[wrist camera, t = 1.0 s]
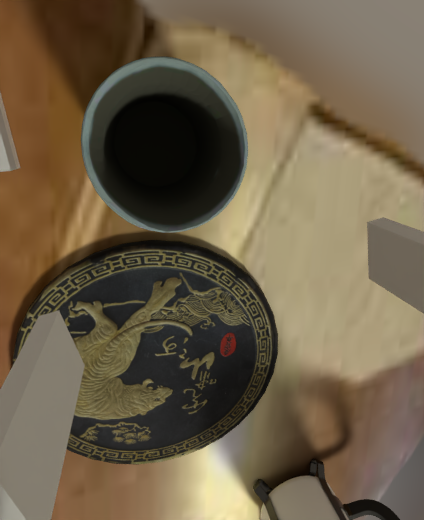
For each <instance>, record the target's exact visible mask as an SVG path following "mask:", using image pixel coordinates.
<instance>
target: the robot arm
mask: <svg viewBox="0 0 424 520" xmlns="http://www.w3.org/2000/svg"><path fill="white" fill-rule="evenodd" d="M367 228H368V266H369V279H371V280H372V281H374V282H375V283H377V284H379V285H380V286H382V287H383V288H385V289H386V290H388V291H389V292H391V293H393V294H394V295H396V296H397V297H399V298H400V299H402V300H403V301H405V302H407V303H408V304H410V305H411V306H413V307H414V308H416V309H417V310H419V311H421V312H422V313H424V232H423V231H420V230H417V229H414V228H411V227H409V226H406V225H403V224H400V223H397V222H395V221H392V220H389V219H386V218H380V219H376V220H373V221H369V222H367ZM84 366H85V365H84V363H83V361H82V359H81V356H80V354H79V352H78V350H77V348H76V346H75V344H74V341H73V339H72V337H71V335H70V333H69V331H68V329H67V326H66V324H65V322H64V320H63V318H62V316H61V314H60V311H55V312H52V313H48V314H45V315H41V316H39V317H38V319H37V321H36V323H35V324H34V326H33V328H32V330H31V332H30V334H29V336H28V338H27V340H26V342H25V344H24V346H23V347H22V349H21V351H20V353H19V355H18V357H17V359H16V361H15V363H14V365H13V367H12V368H11V370H10V372H9V374H8V376H7V378H6V380H5V382H4V384H3V386H2V388H1V389H0V520H51V516H52V512H53V507H54V503H55V498H56V494H57V489H58V485H59V480H60V476H61V471H62V466H63V462H64V457H65V453H66V448H67V444H68V439H69V435H70V430H71V425H72V421H73V416H74V412H75V407H76V403H77V398H78V394H79V389H80V385H81V380H82V375H83V371H84Z"/></svg>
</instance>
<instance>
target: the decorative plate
mask: <svg viewBox="0 0 424 520" xmlns="http://www.w3.org/2000/svg"><path fill="white" fill-rule="evenodd" d="M55 311H60V314H61V316H62V318H63V320H64V322H65V324H66V326H67V329H68V331H69V333H70V335H71V337H72V339H73V341H74V344H75V346H76V348H77V350H78V352H79V354H80V356H81V359H82V361H83V363H84V365H85V366H84V371H83V375H82V380H81V385H80V389H79V394H78V398H77V403H76V407H75V412H74V416H73V421H72V425H71V430H70V435H69V439H68V444H67V448H66V449H68V450H69V451H72V452H74V453H77V454H80V455H82V456H85V457H88V458H90V459H94V460H99V461H104V462H109V463H116V464H145V463H154V462H161V461H166V460H170V459H174V458H178V457H182V456H184V455H187V454H189V453H192V452H194V451H197V450H200V449H202V448H204V447H206V446H208V445H209V444H211V443H213V442H215V441H216V440H218V439H220V438H222V437H223V436H224V435H226V434H227V433H228V432H230V431H231V430H232V429H234V428H235V427H236V426H237V425H239V424H240V423H241V422H242V421H243V419H244V418H245V417H246V416H247V415H248V414H249V413H250V412H251V411H252V410H253V409H254V407H255V406H256V404H257V403H258V402H259V400H260V399H261V397H262V396H263V394H264V393H265V391H266V388H267V386H268V384H269V382H270V379H271V377H272V375H273V372H274V368H275V363H276V359H277V354H278V333H277V328H276V324H275V319H274V314H273V312H272V310H271V308H270V306H269V304H268V302H267V300H266V298H265V296H264V293H263V292H262V291H261V290H260V288H259V287H258V286H257V285H256V284H255V282H254V281H253V280H252V279H251V277H250V276H249V275H248V274H247V273H246V272H244V271H243V270H242V269H241V268H239V267H238V266H237V265H235V264H234V263H233V262H232V261H230V260H229V259H227V258H225V257H223V256H221V255H219V254H217V253H215V252H213V251H211V250H209V249H206V248H202V247H198V246H195V245H191V244H187V243H183V242H175V241H158V240H149V241H142V242H134V243H126V244H121V245H118V246H115V247H112V248H108V249H105V250H102V251H99V252H96V253H93V254H92V255H90V256H88V257H86V258H84V259H82V260H81V261H79V262H77V263H75V264H73V265H71V266H70V267H68V268H67V269H66V270H64V271H63V272H62V273H61V274H60V275H58V276H57V277H56V278H55V279H54V280H52V281H51V282H50V283H49V284H48V285H46V287H45V288H44V289H43V290H42V292H41V293H40V294H39V296H38V297H37V298H36V299H35V301H34V302H33V303H32V305H31V306H30V307H29V309H28V311H27V314H26V316H25V318H24V320H23V322H22V324H21V327H20V329H19V331H18V333H17V338H16V344H15V349H14V355H13V365H14V363H15V361H16V359H17V357H18V355H19V353H20V351H21V349H22V347H23V346H24V344H25V342H26V340H27V338H28V336H29V334H30V332H31V330H32V328H33V326H34V324H35V323H36V321H37V319H38V317H39V316H41V315H45V314H48V313H52V312H55Z"/></svg>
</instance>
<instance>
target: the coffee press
mask: <svg viewBox="0 0 424 520" xmlns="http://www.w3.org/2000/svg"><path fill="white" fill-rule="evenodd" d="M316 468H317V469H318V477H315V475H316ZM253 489H254V491H255V492H256V494H257V495H258V496H259V497H260V499H261V500H262V501H263V505H262V508H261V520H353V519H355V518H358V517H361V516H364V515H373V516H376V517H378V518H380V519H381V520H400V519H399V518H398V517H397V515H395V513H394V512H393V511H391V509H389V508H388V507H387V506H385V505H383V504H382V503H380V502H378V501H375V500H369V499H364V500H358V501H354V502H351V503H349V504H344V505H342V503H341V501H340V500H339V499H338V498H337V497H336V495H335V494H334V492H333V490H332V489H331V487H330V486H329V484H328V483H327V482H326V480H325V475H324V464H323V462H322V461H320V460H316V459H312V460H311V462H310V471H309V474H308V476H299V477H295V478H292V479H289V480H287V481H285V482H283V483H282V484H280V485H279V486H277V487H276V488H275V489H271V488H270V487H269V486H268V485H267V484H266V483H265V482H264V481H263V480H261V479H259V480H258V481H257V482H256V484H255V485H254V486H253Z"/></svg>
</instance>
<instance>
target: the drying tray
mask: <svg viewBox="0 0 424 520" xmlns="http://www.w3.org/2000/svg"><path fill="white" fill-rule="evenodd" d="M18 168H20V165H19V161H18V157H17V153H16V150H15V146H14V142H13V138H12V134H11V131H10V127H9V123H8V119H7V116H6V112H5V108H4V104H3V101H2V97H1V93H0V172H2V171H12V170H15V169H18Z"/></svg>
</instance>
